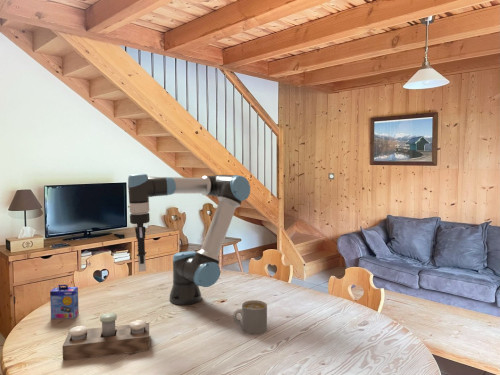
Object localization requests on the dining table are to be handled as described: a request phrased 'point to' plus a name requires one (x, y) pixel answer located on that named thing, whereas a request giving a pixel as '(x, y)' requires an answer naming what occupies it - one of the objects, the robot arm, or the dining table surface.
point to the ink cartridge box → (64, 302)
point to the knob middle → (108, 324)
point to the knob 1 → (78, 332)
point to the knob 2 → (137, 326)
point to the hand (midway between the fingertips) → (142, 270)
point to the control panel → (106, 343)
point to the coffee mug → (252, 317)
